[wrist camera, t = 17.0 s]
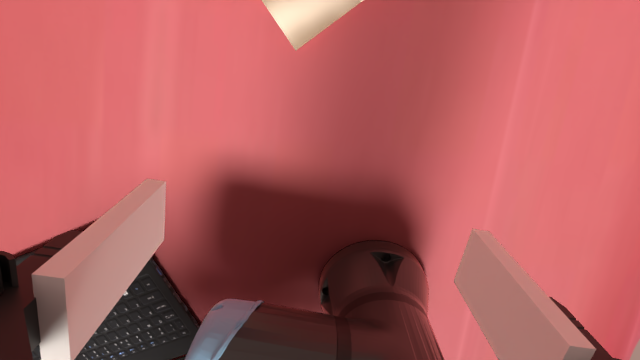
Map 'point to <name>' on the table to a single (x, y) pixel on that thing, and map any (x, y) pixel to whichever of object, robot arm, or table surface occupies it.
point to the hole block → (307, 16)
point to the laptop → (141, 322)
